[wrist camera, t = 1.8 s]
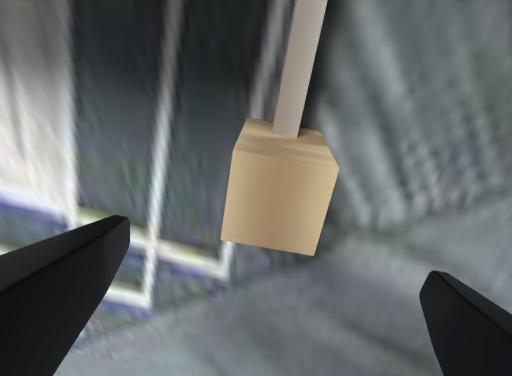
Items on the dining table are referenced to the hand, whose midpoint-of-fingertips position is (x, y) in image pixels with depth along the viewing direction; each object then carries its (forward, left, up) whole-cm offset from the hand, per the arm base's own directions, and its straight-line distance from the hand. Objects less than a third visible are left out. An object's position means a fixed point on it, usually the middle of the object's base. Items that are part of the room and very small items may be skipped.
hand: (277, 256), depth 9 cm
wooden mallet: (0, -5, -9) cm, 11 cm away
